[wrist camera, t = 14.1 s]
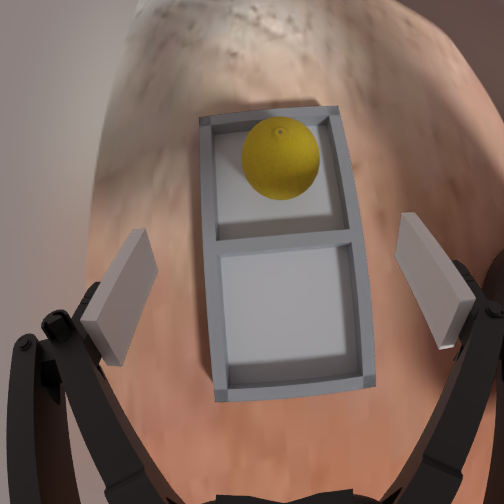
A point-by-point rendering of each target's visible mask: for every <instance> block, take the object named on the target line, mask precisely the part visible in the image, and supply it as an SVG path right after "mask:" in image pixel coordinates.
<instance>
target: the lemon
mask: <svg viewBox="0 0 504 504" xmlns="http://www.w3.org/2000/svg"><path fill="white" fill-rule="evenodd" d="M241 161H242V169H243V172H244V175H245V177H246V179H247V181H248V182H249V184H250V185H251V186H252V188H253V189H254V190H256V191H257V192H258V193H259V194H261V195H262V196H265V197H267V198H269V199H274V200H289V199H292V198H295V197H297V196H299V195H301V194H302V193H304V192H305V191H306V190H307V189H308V188H309V187H310V186H311V185H312V184H313V182H314V180H315V178H316V176H317V174H318V170H319V165H320V154H319V147H318V145H317V142H316V139H315V137H314V135H313V134H312V133H311V131H310V130H309V129H308V128H307V127H306V126H305V125H304V124H303V123H301V122H299V121H297V120H295V119H293V118H289V117H281V116H277V117H271V118H268V119H265V120H263V121H261V122H260V123H258V124H257V125H255V126H254V127H253V128H252V130H251V131H250V132H249V133H248V135H247V137H246V139H245V141H244V144H243V148H242V154H241Z"/></svg>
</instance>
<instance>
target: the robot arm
mask: <svg viewBox="0 0 504 504" xmlns="http://www.w3.org/2000/svg"><path fill="white" fill-rule="evenodd" d="M395 259H396V261H397V263H398V265H399V267H400V269H401V270H402V272H403V274H404V276H405V278H406V280H407V282H408V284H409V286H410V288H411V290H412V292H413V294H414V296H415V298H416V300H417V302H418V304H419V307H420V309H421V311H422V313H423V315H424V317H425V319H426V322H427V324H428V326H429V328H430V330H431V333H432V335H433V337H434V339H435V342H436V344H437V346H438V349H439V350H440V349H446V348H451V347H454V345H455V343H456V341H457V339H458V337H459V339H460V341H461V343H462V345H461V347H460V349H459V351H458V352H457V354H456V356H455V358H454V360H453V361H455V362H454V365H453V367H452V370H451V372H450V375H449V377H448V380H447V382H446V384H445V387H444V389H443V391H442V394H441V396H440V398H439V400H438V403H437V405H436V407H435V409H434V411H433V413H432V415H431V417H430V419H429V421H428V423H427V425H426V427H425V429H424V431H423V433H422V435H421V437H420V439H419V441H418V443H417V445H416V446H415V448H414V450H413V452H412V453H411V455H410V457H409V459H408V460H407V462H406V464H405V466H404V467H403V469H402V470H401V472H400V474H399V475H398V477H397V478H396V480H395V481H394V483H393V484H392V485H391V487H390V488H389V489H388V490H387V492H386V493H385V494H384V496H383V497H382V498H381V500H380V501H377V500H375V499H373V498H370V497H366V496H362V495H356V494H353V489H348V490H340V491H332V492H323V493H318V494H315V495H312V496H308V497H305V498H302V499H299V500H295V501H292V502H288V503H280V502H275V501H270V500H265V499H260V498H256V497H252V496H232V495H216V500H214V501H209V502H206V503H203V504H451V503H452V501H453V499H454V497H455V495H456V493H457V491H458V489H459V487H460V484H461V482H462V479H463V475H462V473H461V470H462V467H463V465H464V463H465V460H466V458H467V456H468V453H469V451H470V448H471V446H472V443H473V441H474V438H475V436H476V433H477V430H478V427H479V425H480V422H481V419H482V416H483V413H484V410H485V407H486V404H487V400H488V397H489V394H490V390H491V387H492V383H493V379H494V377H495V378H496V379H497V401H496V419H495V431H494V441H493V450H492V457H491V464H490V471H489V476H488V482H487V487H486V492H485V497H484V501H483V504H504V250H503V251H502V252H501V253H500V254H499V255H498V256H497V258H496V259H495V261H494V262H493V264H492V266H491V268H490V270H489V272H488V274H487V277H486V279H485V282H484V286H483V289H482V290H481V288H480V287H479V285H478V284H477V283H476V281H474V278H473V277H472V275H470V272H469V271H468V270H467V268H466V267H465V266H464V265H463V264H461V263H460V262H459V261H458V260H450V258H449V257H448V256H447V254H446V253H445V251H444V250H443V249H442V247H441V246H440V245H439V243H438V242H437V241H436V239H435V238H434V237H433V235H432V234H431V233H430V231H429V230H428V229H427V227H426V226H425V225H424V223H423V222H422V221H421V220H420V218H419V217H418V216H417V215H416V213H415V212H405V213H402V214H401V221H400V227H399V234H398V240H397V246H396V251H395ZM157 273H158V268H157V265H156V262H155V259H154V255H153V252H152V249H151V245H150V242H149V239H148V235H147V232H146V228H144V229H133V230H132V231H131V233H130V234H129V236H128V238H127V239H126V241H125V242H124V244H123V246H122V247H121V249H120V250H119V252H118V254H117V255H116V257H115V259H114V260H113V262H112V264H111V265H110V267H109V269H108V271H107V272H106V274H105V276H104V277H103V279H102V281H101V282H95V283H94V284H93V285H92V286H91V287H90V288H89V289H88V290H87V292H86V293H85V295H84V298H83V299H82V300H81V302H80V305H79V306H78V307H77V309H76V311H75V313H74V315H73V317H72V318H70V316H69V314H68V313H67V312H66V311H65V310H56V311H53V312H51V313H50V314H48V315H47V316H46V317H45V318H44V319H43V322H42V324H41V328H42V330H43V331H44V333H45V334H46V336H47V338H48V339H46V340H41V341H38V339H37V338H36V336H35V335H34V334H25V335H23V336H21V337H20V338H19V339H18V340H17V342H16V343H15V345H14V348H13V354H12V361H11V370H10V379H9V391H8V405H7V471H8V485H9V495H10V504H81V502H80V498H79V493H78V489H77V483H76V478H75V472H74V467H73V460H72V455H71V448H70V439H69V432H68V422H67V412H66V398H65V392H66V395H67V397H68V400H69V403H70V406H71V409H72V411H73V414H74V416H75V419H76V422H77V424H78V427H79V429H80V431H81V434H82V436H83V438H84V441H85V443H86V446H87V448H88V450H89V452H90V454H91V457H92V459H93V461H94V463H95V465H96V467H97V469H98V471H99V473H100V475H101V477H102V479H103V481H104V483H105V486H106V489H105V491H104V493H105V497H106V499H107V501H108V503H109V504H185V503H184V502H183V500H182V499H181V498H180V497H179V496H178V495H177V494H176V493H175V491H174V490H173V489H172V488H171V486H170V485H169V483H168V482H167V481H166V479H165V478H164V476H163V475H162V473H161V472H160V470H159V469H158V467H157V466H156V464H155V463H154V461H153V460H152V458H151V457H150V455H149V454H148V452H147V450H146V449H145V447H144V446H143V444H142V442H141V441H140V439H139V437H138V436H137V434H136V432H135V431H134V429H133V427H132V425H131V424H130V422H129V420H128V418H127V416H126V415H125V413H124V411H123V409H122V407H121V406H120V404H119V402H118V400H117V398H116V396H115V394H114V392H113V390H112V388H111V386H110V384H109V382H108V380H107V378H106V376H105V374H104V372H103V370H102V368H101V366H100V365H99V362H100V360H101V357H102V358H103V360H104V361H105V363H106V364H107V365H110V366H123V363H124V360H125V357H126V354H127V351H128V349H129V346H130V343H131V340H132V338H133V335H134V332H135V329H136V327H137V324H138V321H139V319H140V316H141V313H142V311H143V308H144V306H145V303H146V300H147V298H148V295H149V293H150V290H151V288H152V285H153V283H154V280H155V278H156V275H157Z"/></svg>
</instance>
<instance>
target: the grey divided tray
mask: <svg viewBox="0 0 504 504" xmlns="http://www.w3.org/2000/svg"><path fill="white" fill-rule="evenodd" d="M277 116H281V117H289V118H293V119H295V120H297V121H299V122H301V123H303V124H304V125H305V126H306V127H307V128H308V129H309V130H310V131H311V133H312V134H313V135H314V137H315V139H316V142H317V145H318V147H319V154H320V165H319V170H318V174H317V176H316V178H315V180H314V182H313V184H312V185H311V186H310V187H309V188H308V189H307V190H306V191H305V192H304V193H302V194H301V195H299V196H297V197H295V198H292V199H289V200H274V199H269V198H267V197H265V196H262V195H261V194H259V193H258V192H257V191H256V190H254V189H253V188H252V186H251V185H250V184H249V182H248V181H247V179H246V177H245V175H244V172H243V169H242V161H241V154H242V148H243V144H244V141H245V139H246V137H247V135H248V133H249V132H250V131H251V130H252V128H253V127H254V126H255V125H257V124H258V123H260V122H261V121H263V120H265V119H268V118H271V117H277ZM199 144H200V187H201V215H202V238H203V257H204V274H205V290H206V305H207V318H208V331H209V343H210V355H211V366H212V376H213V386H214V396H215V402H238V401H259V400H274V399H286V398H297V397H307V396H316V395H324V394H332V393H339V392H346V391H352V390H359V389H365V388H370V387H376V370H375V347H374V331H373V317H372V305H371V294H370V284H369V275H368V266H367V258H366V250H365V243H364V235H363V229H362V222H361V216H360V209H359V203H358V198H357V192H356V186H355V181H354V176H353V170H352V165H351V160H350V156H349V151H348V146H347V142H346V137H345V133H344V128H343V124H342V120H341V116H340V112H339V108H338V106H313V107H293V108H278V109H266V110H255V111H245V112H236V113H228V114H220V115H213V116H206V117H199Z"/></svg>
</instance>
